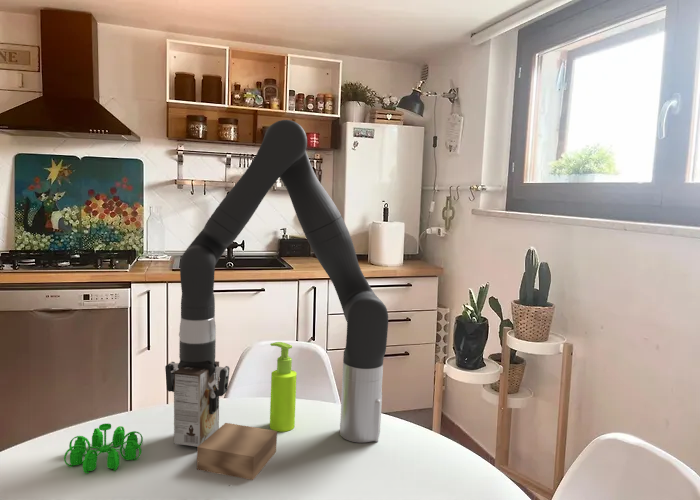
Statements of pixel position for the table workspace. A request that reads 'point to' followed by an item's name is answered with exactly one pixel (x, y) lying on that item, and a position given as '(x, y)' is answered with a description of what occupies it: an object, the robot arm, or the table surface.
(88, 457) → the chandelier
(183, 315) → the robot arm
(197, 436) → the coffee box
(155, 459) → the table surface
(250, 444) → the walnut block
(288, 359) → the soap dispenser
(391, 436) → the table surface
